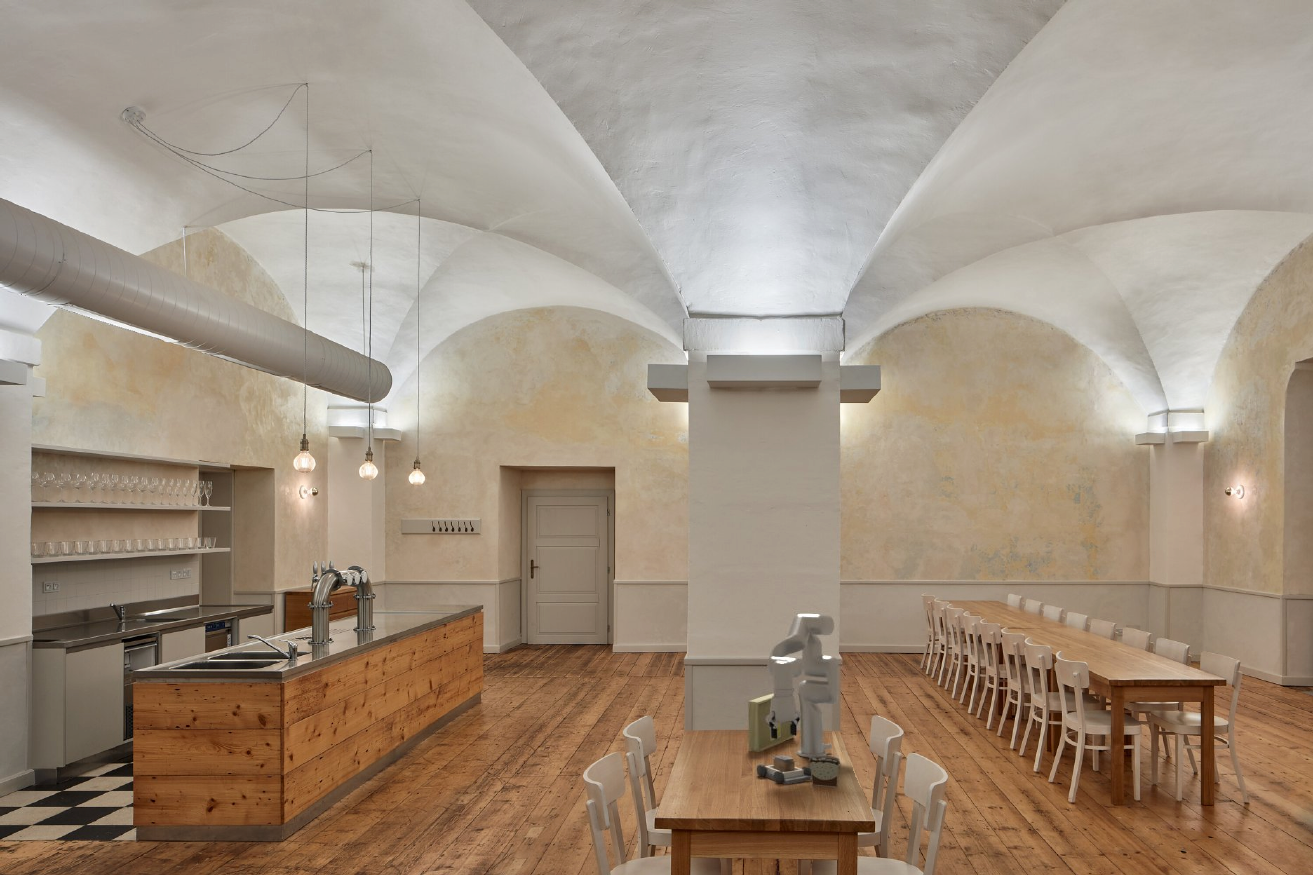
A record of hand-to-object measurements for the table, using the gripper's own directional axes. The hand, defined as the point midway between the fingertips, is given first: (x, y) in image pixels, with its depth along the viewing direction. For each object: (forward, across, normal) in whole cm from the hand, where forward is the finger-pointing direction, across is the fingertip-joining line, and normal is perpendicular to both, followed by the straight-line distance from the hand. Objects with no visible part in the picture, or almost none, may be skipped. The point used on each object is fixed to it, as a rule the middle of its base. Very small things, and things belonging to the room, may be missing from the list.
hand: (783, 736), depth 367 cm
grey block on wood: (+14, +1, 0) cm, 14 cm away
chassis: (+16, +1, 0) cm, 16 cm away
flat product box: (+17, -31, -47) cm, 59 cm away
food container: (+16, -7, +16) cm, 24 cm away
